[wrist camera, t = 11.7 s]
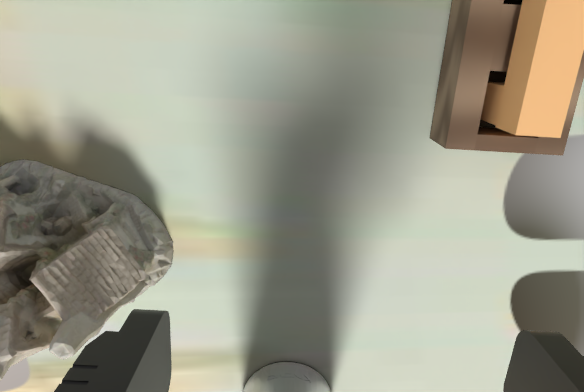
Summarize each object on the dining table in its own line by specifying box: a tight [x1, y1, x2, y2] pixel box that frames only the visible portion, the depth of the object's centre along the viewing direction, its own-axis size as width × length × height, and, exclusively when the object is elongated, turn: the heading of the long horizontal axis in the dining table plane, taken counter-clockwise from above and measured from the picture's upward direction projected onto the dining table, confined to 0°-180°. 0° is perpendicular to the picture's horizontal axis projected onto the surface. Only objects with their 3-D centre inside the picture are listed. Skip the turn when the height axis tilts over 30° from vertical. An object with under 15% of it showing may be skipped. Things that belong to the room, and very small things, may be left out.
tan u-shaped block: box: [480, 0, 584, 138], centre depth 31 cm, size 12×3×8 cm, turn 176°
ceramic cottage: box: [0, 159, 173, 380], centre depth 33 cm, size 16×16×15 cm
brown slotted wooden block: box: [430, 0, 584, 155], centre depth 32 cm, size 16×9×4 cm, turn 177°
